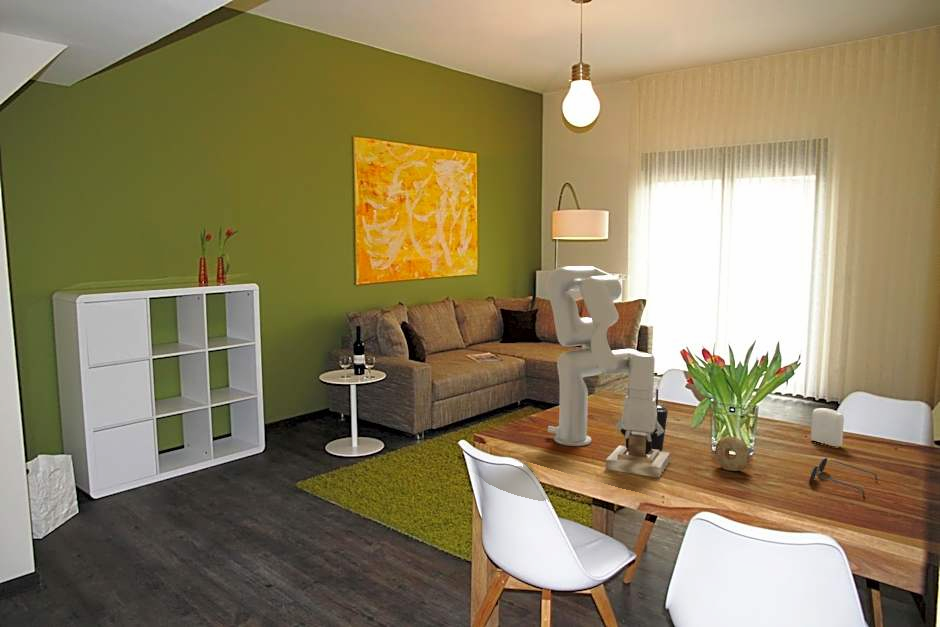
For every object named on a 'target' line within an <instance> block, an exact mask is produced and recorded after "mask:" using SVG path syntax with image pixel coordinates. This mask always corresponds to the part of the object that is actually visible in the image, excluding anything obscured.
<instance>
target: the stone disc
mask: <svg viewBox="0 0 940 627" xmlns="http://www.w3.org/2000/svg"><path fill="white" fill-rule="evenodd" d="M731 451H734V452H735V456H731V454H730V452H731ZM714 459H715V461H716V464H718V465H719V466H720V468H722V469H724V470H726V471H733V472H738V471H743V470H744V469H746V468H747V467H748V466H749V465H750V463H751V460H752V459H751V455H750V450H749V447H748V445H747V443H746V442H745V441H744V440H742V439H741V438H739V437H736V436H725V437H721V438H720V439H719V440H718V441H717V443H716V445H715V448H714Z"/></svg>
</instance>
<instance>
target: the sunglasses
mask: <svg viewBox="0 0 940 627" xmlns="http://www.w3.org/2000/svg"><path fill="white" fill-rule="evenodd" d="M828 460H829V461H832V462H834V463H837V464H841V465H844V466H847V467H850V468H852V469H856V470H859V471H863V472H866V473H869V474H871V475H874V478H875V479H874V480H878V477H877V474H876V473H874V472H871V471H868V470H865V469H863V468H860V467H859V468H858V467H856V466H852V465H849V464H846V463H843V462H840V461H838V460H832V459H828V457H826V458H823V459H821V461H820V463H819V466H817V465H816V466H814V467H813V469H811V470H812V471H811V472H810V473H811V474H810V477H809V480H808V484H809V485H811V484H812V482H813V481H815V479H816V477H821V478H824V479H827V480H830V481H832V482H836V483H839V484H841V485H844V486H848V487H851V488H853V489H855V490H856V489H857V490H859V491H861V492H862V498H863V499H866V495H865V494H866V493H865V491H864V489H862V488H860V487H857V486H854V485H851V484H848V483H846V482H841V481H839V480H836V479H833V478H830V477H828V476H824V475H821V474H822V473H823V472H822V471H824V470H825V468H826V466H827V461H828ZM821 472H822V473H821ZM820 473H821V474H820ZM819 474H820V475H819Z"/></svg>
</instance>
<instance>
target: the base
mask: <svg viewBox="0 0 940 627" xmlns="http://www.w3.org/2000/svg"><path fill="white" fill-rule="evenodd" d="M670 460H671V453H670V452H667V451H662V450H655V449H652V450H651V451H650V452H649V453H648V454H647V455H646V456H645V457H640V456H634V455H628V451H627V448H626V445H618V446H617V447H616V448H615V449H614V451H613V452H611V454H609V455H608V457H607V458H606V459H605V470H610V471H613V472H614V471H615V472H620V473H627V474H628V473H629V474H633V475H634V474H635V475H639V476H646V477H647V476H648V477H652V478H658V477H659V478H660V477H661V476H662V474H663V473H664V471H665V470H666V468H667V467H668V466H669V464H670ZM668 463H669V464H668ZM666 466H667V467H666ZM664 469H665V470H664ZM662 472H663V473H662ZM660 475H661V476H660Z"/></svg>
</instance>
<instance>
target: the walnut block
mask: <svg viewBox="0 0 940 627" xmlns="http://www.w3.org/2000/svg"><path fill="white" fill-rule="evenodd" d="M646 441H647V435H646V433H645V432H637V431H632V432H631V434H630V435H629V449H628V455H634V456H640V457H645V456H646V455H647V454H646Z"/></svg>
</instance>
